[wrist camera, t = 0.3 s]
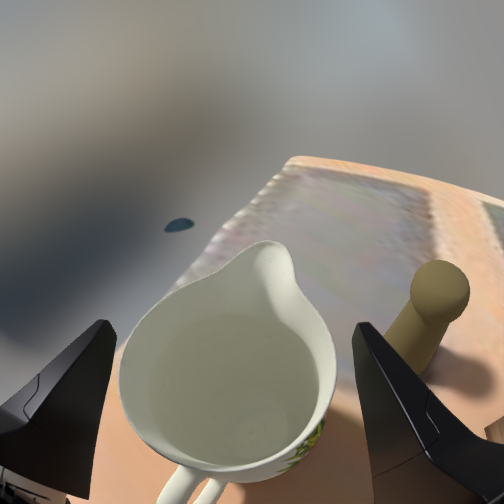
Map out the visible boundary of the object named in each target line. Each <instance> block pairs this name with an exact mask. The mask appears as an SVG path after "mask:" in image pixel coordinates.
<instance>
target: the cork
mask: <svg viewBox="0 0 504 504" xmlns="http://www.w3.org/2000/svg"><path fill="white" fill-rule="evenodd" d="M469 297H470V286H469V282H468V279H467V278H466V276H465V274H464V273H463V272H462V271H461V270H460V269H459V268H458V267H456V266H455V265H454V264H452V263H449V262H447V261H443V260H432V261H429V262H427V263H425V264H424V265H422V266H421V267H420V268H419V269H418V270H417V272H416V273H415V275H414V278H413V281H412V283H411V287H410V300H409V301H408V303H407V304H406V306H405V307H404V309H403V310H402V312H401V313H400V314H399V316H398V317H397V319H396V320H395V321H394V323H393V324H392V325H391V327H390V328H389V329H388V331H387V332H386V333H385V335H384V336H383V337H384V338H385V340H386V341H387V342H388V343H389V344H390V345H391V346H392V347H393V348H394V349H395V350H396V352H397V353H398V354H399V355H400V356H401V357H402V358H403V359H404V360H405V362H406V363H407V364H408V365H409V366H410V367H411V368H412V369H413V371H414V372H415V373H416V374H417V375H420V374H421V373H423V371H424V370H425V369H426V368H427V366H428V365H429V363H430V361H431V359H432V357H433V356H434V354H435V352H436V350H437V348H438V346H439V344H440V342H441V340H442V338H443V336H444V334H445V332H446V330H447V328H448V326H449V323H451V322H452V321H454V320H455V319H457V318H458V317H459V316H461V314H462V313H463V311H464V309H465V308H466V306H467V305H468V301H469Z"/></svg>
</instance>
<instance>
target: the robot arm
mask: <svg viewBox="0 0 504 504" xmlns="http://www.w3.org/2000/svg"><path fill="white" fill-rule="evenodd" d="M116 341H117V335H116V332H115V331H114V329H113V327H112V325H111V324H110V322H109V321H108V320H102V319H100V320H97V321H96V322H95V323H94V324H93V325H91V326H90V327H89V328H88V329H87V330H86V331H85V332H84V333H82V334H81V335H80V336H79V337H78V338H77V339H76V340H74V341H73V342H72V343H71V344H70V345H69V346H68V347H67V348H65V349H64V350H63V351H62V352H61V353H60V354H59V355H58V356H57V357H56V358H54V360H52V361H51V362H50V363H49V364H48V365H47V366H46V367H45V368H44V369H43V370H42V371H41V372H40V373H39V374H37V375H36V376H35V377H34V378H33V379H32V380H31V381H30V382H29V383H28V384H27V385H26V386H24V387H23V388H22V389H21V390H20V391H18V392H17V393H16V394H15V395H14V396H12V397H11V398H10V399H9V400H7V401H6V402H5V403H4V404H2V405H1V406H0V504H71V503H70V501H69V499H68V498H66V496H67V494H69V495H72V496H75V497H79V498H82V499H86V500H89V494H90V484H91V475H92V467H93V459H94V453H95V447H96V441H97V435H98V430H99V424H100V419H101V414H102V410H103V405H104V401H105V396H106V392H107V388H108V384H109V380H110V375H111V371H112V365H113V358H114V352H115V347H116ZM352 348H353V357H354V367H355V378H356V384H357V389H358V394H359V399H360V405H361V410H362V415H363V421H364V426H365V432H366V438H367V445H368V451H369V458H370V465H371V473H372V477H373V478H372V482H373V491H374V501H375V504H504V444H501V443H496V442H492V441H488V440H484V439H482V438H480V437H478V436H477V435H475V434H474V433H473V432H472V431H470V430H469V429H468V428H467V427H466V426H465V425H464V424H463V423H462V422H461V421H460V420H459V419H458V418H457V417H456V416H455V415H453V414H452V413H451V412H450V411H449V410H448V409H447V408H446V407H445V406H444V405H443V403H442V402H441V401H440V400H439V399H438V398H437V397H436V396H435V394H434V393H433V392H432V391H431V390H430V389H429V388H428V387H427V385H426V384H425V383H424V382H423V381H422V380H421V378H420V377H419V376H418V375H417V374H416V373H415V372H414V371H413V369H412V368H411V367H410V366H409V365H408V364H407V363H406V362H405V360H404V359H403V358H402V357H401V356H400V355H399V354H398V353H397V352H396V350H395V349H394V348H393V347H392V346H391V345H390V344H389V343H388V342H387V341H386V340H385V338H384V337H383V336H382V335H381V334H380V333H379V332H378V331H377V330H376V329H375V328H374V327H373V326H372V324H371V323H369V322H359V323H357V325H356V328H355V331H354V334H353V337H352Z"/></svg>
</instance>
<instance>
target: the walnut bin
mask: <svg viewBox="0 0 504 504" xmlns="http://www.w3.org/2000/svg"><path fill="white" fill-rule="evenodd" d="M484 429H485V433H486V437H487V440H488V441H492V442H496V443H501V444H504V416H503V417H501V418H500V419H498V420H497V421H495V422H494V423H492V424H490V425H489V426H487V427H486V428H484Z"/></svg>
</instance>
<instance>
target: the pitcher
mask: <svg viewBox="0 0 504 504" xmlns="http://www.w3.org/2000/svg"><path fill="white" fill-rule="evenodd" d="M336 380H337V355H336V348H335V344H334V341H333V338H332V334H331V332H330V330H329V328H328V326H327V324H326V322H325V320H324V319H323V317H322V316H321V314H320V313H319V311H318V310H317V309H316V308H315V307H314V305H313V304H312V303H311V302H310V300H309V299H308V298H307V297H306V296H305V295H304V293H303V292H302V290H301V288H300V287H299V285H298V283H297V281H296V273H295V268H294V263H293V260H292V257H291V254H290V252H289V251H288V249H287V247H286V246H284V245H283V244H282V243H280V242H276V241H266V240H265V241H261V242H257V243H255V244H253V245H251V246H249V247H247V248H246V249H244V250H243V251H241V252H240V253H239V254H237V255H236V256H235V257H234V258H233V259H231V260H230V261H229V262H228V263H227V264H226V265H225V266H224V267H222V268H221V269H219V270H217V271H216V272H214V273H212V274H210V275H208V276H205V277H203V278H201V279H198V280H196V281H193V282H191V283H189V284H186V285H184V286H183V287H181V288H179V289H177V290H175V291H174V292H172V293H170V294H169V295H167V296H166V297H165V298H163V299H162V300H161V301H159V302H158V303H157V304H156V305H155V306H154V307H152V308H151V309H150V310H149V311H148V312H147V313H146V314H145V316H144V317H143V318H142V319H141V320H140V321H139V323H138V324H137V326H136V327H135V328H134V330H133V331H132V333H131V335H130V337H129V338H128V340H127V342H126V345H125V347H124V349H123V352H122V355H121V359H120V363H119V369H118V391H119V398H120V401H121V405H122V408H123V411H124V413H125V415H126V417H127V420H128V421H129V423H130V425H131V426H132V428H133V429H134V431H135V432H136V433H137V435H138V436H139V437H140V438H141V439H142V440H143V441H144V442H145V443H146V444H147V445H148V446H149V447H150V448H152V449H153V450H154V451H155V452H157V453H158V454H160V455H161V456H163V457H165V458H166V459H168V460H170V461H172V462H175V463H177V464H179V465H178V468H177V470H176V471H175V473H174V474H173V475H172V477H171V478H170V479H169V481H168V482H167V484H166V485H165V487H164V488H163V490H162V492H161V494H160V496H159V497H158V499H157V502H156V504H187V502H188V500H189V498H190V496H191V495H192V493H193V492H194V490H195V489H196V487H197V486H198V485H199V484H200V483H201V482H202V481H203V480H205V479H206V478H207V477H209V478H210V480H209V482H208V483H207V485H206V487H205V488H204V490H203V491H202V493H201V494H200V495H199V497H198V498H197V499H196V500H195V502H194V503H193V504H216V503H217V501H218V499H219V498H220V496H221V494H222V493H223V491H224V489H225V487H226V485H227V484H228V482H230V483H252V482H258V481H263V480H267V479H270V478H273V477H276V476H278V475H280V474H282V473H284V472H286V471H288V470H290V469H291V468H292V467H294V466H295V465H297V464H298V463H299V462H300V461H301V460H302V459H303V458H304V457H305V456H306V455H307V454H308V453H309V452H310V450H311V449H312V448H313V447H314V445H315V444H316V442H317V440H318V439H319V437H320V435H321V433H322V430H323V427H324V425H325V421H326V416H327V411H328V407H329V405H330V403H331V400H332V397H333V394H334V391H335V387H336Z"/></svg>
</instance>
